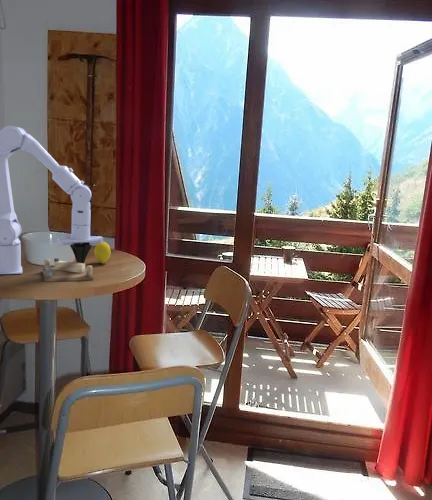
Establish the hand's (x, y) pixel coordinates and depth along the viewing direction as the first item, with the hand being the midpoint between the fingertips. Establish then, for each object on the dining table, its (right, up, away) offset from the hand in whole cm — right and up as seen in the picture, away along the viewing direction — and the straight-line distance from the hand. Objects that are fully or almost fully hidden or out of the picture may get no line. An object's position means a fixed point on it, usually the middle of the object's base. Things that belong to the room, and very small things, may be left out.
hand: (80, 266), depth 155 cm
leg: (-3, -1, -2) cm, 4 cm away
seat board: (-3, -3, -4) cm, 5 cm away
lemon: (+4, 0, +15) cm, 15 cm away
